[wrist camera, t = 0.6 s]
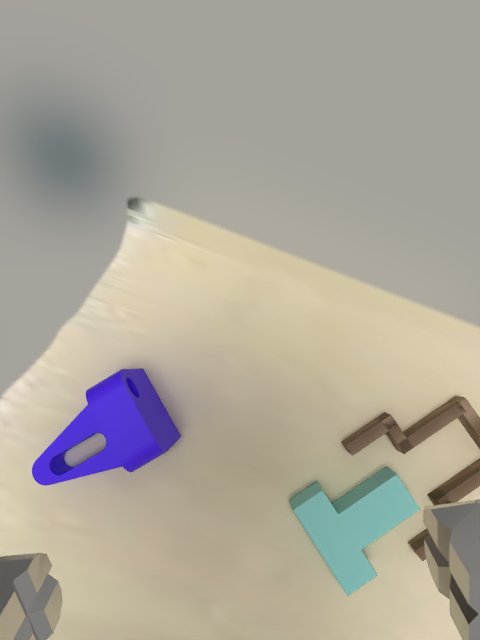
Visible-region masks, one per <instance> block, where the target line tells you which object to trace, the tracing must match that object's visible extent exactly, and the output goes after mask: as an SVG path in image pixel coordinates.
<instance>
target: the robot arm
mask: <svg viewBox="0 0 480 640" xmlns="http://www.w3.org/2000/svg"><path fill="white" fill-rule="evenodd" d="M423 522H424V524H425V526H426V528H427V529H428V531H429V533H428V535H427V536H426V537H425V539H424V546H425V555H426V559H427V563H428V567H429V570H430V573H431V575H432V578H433V580H434V582H435V584H436V587H437V589H438V591H439V592H440V593H442V594H443V595H444V596H446V597H447V598H448V599H450V615H451V617H452V619H453V621H454V623H455V625H456V627H457V629H458V631H459V633H460V635H461V637H462V639H463V640H480V499H479V500H475V501H465V502H457V503H449V504H442V505H434V506H426V507H425V508H424V512H423ZM51 567H52V565H51V562H50V560H49V558H48V556H47V554H43V553H35V554H24V555H13V556H2V557H0V640H47V639H48V638H49V636H50V635H51V634H52V633H53V632H54V630H55V627H56V625H57V623H58V620H59V617H60V612H61V606H62V593H61V588H60V585H59V583H58V581H57V580H56V579H54V578H53V577H52V576H50V575H49V574H48V573H49V571H50V569H51Z"/></svg>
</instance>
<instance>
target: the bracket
mask: <svg viewBox="0 0 480 640" xmlns="http://www.w3.org/2000/svg"><path fill="white" fill-rule="evenodd" d="M86 398H87V402H88V405H87V406H86V407H85V409H84V410H83V411H82V412H81V413H80V414H79V415H78V416H77V417H76V418H75V419H74V420H73V421H72V423H71V424H70V425H69V426H68V427H67V428H66V429H65V430H64V431H63V432H62V433H61V434H60V435H59V436H58V438H57V439H56V440H55V441H54V442H53V443H52V444H51V445H50V446H49V447H48V448H47V449H46V450H45V451H44V453H43V454H42V455H41V456H40V457H39V458H38V459H37V460H36V461H35V463H34V465H33V468H32V474H33V477H34V479H35V480H36V482H38V483H39V484H41V485H51V484H55V483H59V482H63V481H67V480H71V479H75V478H78V477H82V476H86V475H90V474H94V473H98V472H102V471H106V470H110V469H114V468H118V467H122V466H123V467H124V468H125V469H126V470H127V471H129V472H133V471H135V470H136V469H138V468H140V467H141V466H143V465H145V464H146V463H148V462H150V461H151V460H153V459H155V458H156V457H158V456H160V455H161V454H163V453H165V452H166V451H168V450H169V448H170V447H171V446H172V445H173V444H174V443H175V442H176V441H177V440H178V439H179V438H180V437H181V436H180V434H179V432H178V430H177V429H176V427H175V425H174V423H173V421H172V420H171V418H170V416H169V414H168V412H167V411H166V409H165V407H164V405H163V404H162V402H161V400H160V398H159V396H158V395H157V393H156V391H155V389H154V387H153V386H152V384H151V382H150V380H149V379H148V377H147V375H146V373H145V371H144V370H143V369H122V370H120V371H118V372H117V373H115V374H113V375H112V376H110V377H108V378H107V379H105V380H103V381H102V382H100V383H98V384H97V385H95V386H93V387H91V388H90V389H88V390H87V391H86ZM96 433H101V434H103V435H104V436H105V438H106V441H107V444H106V447H105V449H104V450H103V451H101V452H100V453H98V454H96V455H95V456H93V457H91V458H90V459H88V460H86V461H85V462H83V463H81V464H80V465H78V466H76V467H70V466H68V465H67V464H66V462H65V459H64V457H65V454H66V452H67V451H68V450H69V449H71V448H73V447H74V446H76V445H78V444H79V443H81V442H83V441H84V440H86V439H88V438H89V437H91V436H93V435H94V434H96Z"/></svg>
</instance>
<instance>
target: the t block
mask: <svg viewBox="0 0 480 640" xmlns="http://www.w3.org/2000/svg"><path fill="white" fill-rule="evenodd" d="M290 502H291V506H292V509H293V511H294V513H295V514H296V516H297V517H298V519H299V521H300V522H301V524H302V525H303V527H304V528H305V530H306V532H307V533H308V535H309V536H310V538H311V539H312V541H313V543H314V544H315V546H316V547H317V549H318V550H319V552H320V554H321V555H322V557H323V558H324V560H325V561H326V563H327V565H328V566H329V568H330V569H331V571H332V572H333V574H334V576H335V577H336V579H337V580H338V582H339V583H340V585H341V587H342V588H343V590H344V591H345V593H346V594H347V596H349V595H350V594H351V593H353V592H354V591H356V590H357V589H359V588H360V587H362V586H363V585H364V584H366V583H367V582H369V581H370V580H372V579H373V578H374V577H376V576H377V573H376V572H375V570H374V568H373V567H372V565H371V564H370V562H369V560H368V559H367V557H366V556H365V554H364V553H363V551H362V549H363V548H365V547H366V546H368V545H369V544H371V543H372V542H374V541H375V540H376V539H378V538H379V537H381V536H382V535H384V534H385V533H387V532H388V531H389V530H391V529H392V528H394V527H395V526H397V525H398V524H400V523H401V522H402V521H404V520H405V519H407V518H408V517H410V516H411V515H413V514H414V513H415V512H417V511H418V510H420V508H419V506H418V505H417V503H416V502H415V500H414V499H413V498H412V496H411V495H410V493H409V492H408V490H407V489H406V487H405V486H404V484H403V483H402V481H401V480H400V478H399V477H398V475H397V474H396V473H394V472H393V471H392V470H390V469H389V468H388V467H385V468H383V469H382V470H380V471H379V472H378V473H376V474H375V475H373V476H372V477H370V478H369V479H367V480H366V481H364V482H363V483H361V484H360V485H359V486H357V487H356V488H354V489H353V490H351V491H350V492H348V493H347V494H345V495H344V496H342V497H341V498H340V499H338V500H337V501H335V502H334V503H331V502H330V500H329V499H328V497H327V496H326V494H325V493H324V491H323V489H322V488H321V486H320V485H319V483H318V482H315V483H314V484H312V485H311V486H309V487H308V488H307V489H305V490H304V491H302V492H301V493H299V494H298V495H296V496H295V497H293V498H292V499H290Z"/></svg>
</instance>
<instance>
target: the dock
mask: <svg viewBox="0 0 480 640" xmlns="http://www.w3.org/2000/svg"><path fill="white" fill-rule="evenodd" d="M456 418H458V419H459V420H460V421H461V423H462V424H463V426H464V427H465V429H466V430H467V431H468V433H469V434H470V436H471V437H472V438H473V440H474V441H475V443H476V444H477V446H478V447H479V448H480V417H479V416H478V415H477V413H476V412H475V410H474V409H473V408H472V406H471V405H470V403H469V402H468V401H467V399H466V398H464V397H457V396H455V397H454V398H453V399H451V400H450V401H448V402H447V403H445V404H444V405H442V406H441V407H439V408H438V409H436V410H435V411H433V412H432V413H430V414H429V415H428V416H426V417H425V418H423V419H422V420H420V421H419V422H417V423H416V424H414V425H413V426H411V427H410V428H408V429H407V430H406V431H404V432H402V430H401V429H400V427H399V426H398V424H397V423H396V421H395V420H394V419H393V417H392V416H391V415H390V414H387V413H384V414H382V415H381V416H379V417H378V418H376V419H375V420H373V421H372V422H370V423H369V424H367V425H366V426H364V427H363V428H361V429H360V430H359V431H357V432H356V433H354V434H353V435H351V436H350V437H348V438H347V439H345V440H344V441H342V444H343V445H344V447H345V448H346V450H347V451H348V452H349V453H350V454H351V455H354V454H355V453H357V452H358V451H360V450H361V449H363V448H364V447H366V446H367V445H369V444H370V443H372V442H373V441H375V440H376V439H378V438H379V437H380V436H382V435H383V434H385V433H386V435H387V436H388V437H389V439H390V440H391V442H392V443H393V445H394V446H395V448H396V449H397V450H398V451H400V452H401V453H403V454H405V453H406V452H408V451H409V450H411V449H412V448H414V447H415V446H417V445H418V444H420V443H421V442H422V441H424V440H425V439H427V438H428V437H430V436H431V435H433V434H434V433H436V432H437V431H439V430H440V429H442V428H443V427H444V426H446V425H447V424H449V423H450V422H452V421H453V420H455V419H456ZM479 486H480V459H479V460H477V461H476V462H474V463H473V464H471V465H470V466H469V467H467V468H466V469H464V470H463V471H461V472H460V473H458V474H457V475H455V476H454V477H453V478H451V479H450V480H448V481H447V482H445V483H444V484H442V485H441V486H440V487H438V488H437V489H435V490H434V491H432V492H431V493H429V494H428V496H429V498H430V499H431V501H432V502H433V504H434V505H442V504H449V503H456V502H457V501H459V500H460V499H462V498H463V497H464V496H466V495H467V494H469V493H470V492H472V491H473V490H475V489H476V488H477V487H479ZM428 533H429V531H428V529H426V530H425V531H423V532H422V533H420V534H419V535H417V536H416V537H415V538H413V539H412V540H410V541H409V542H408V543H409V544H410V546H411V547H412V549H413V550H414V552H415V553H416V554H417V555H418V556H419V557H420V559H421V560H422V561H424V560H425V559H426V555H425V546H424V539H425V537H426V536H427V535H428Z"/></svg>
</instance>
